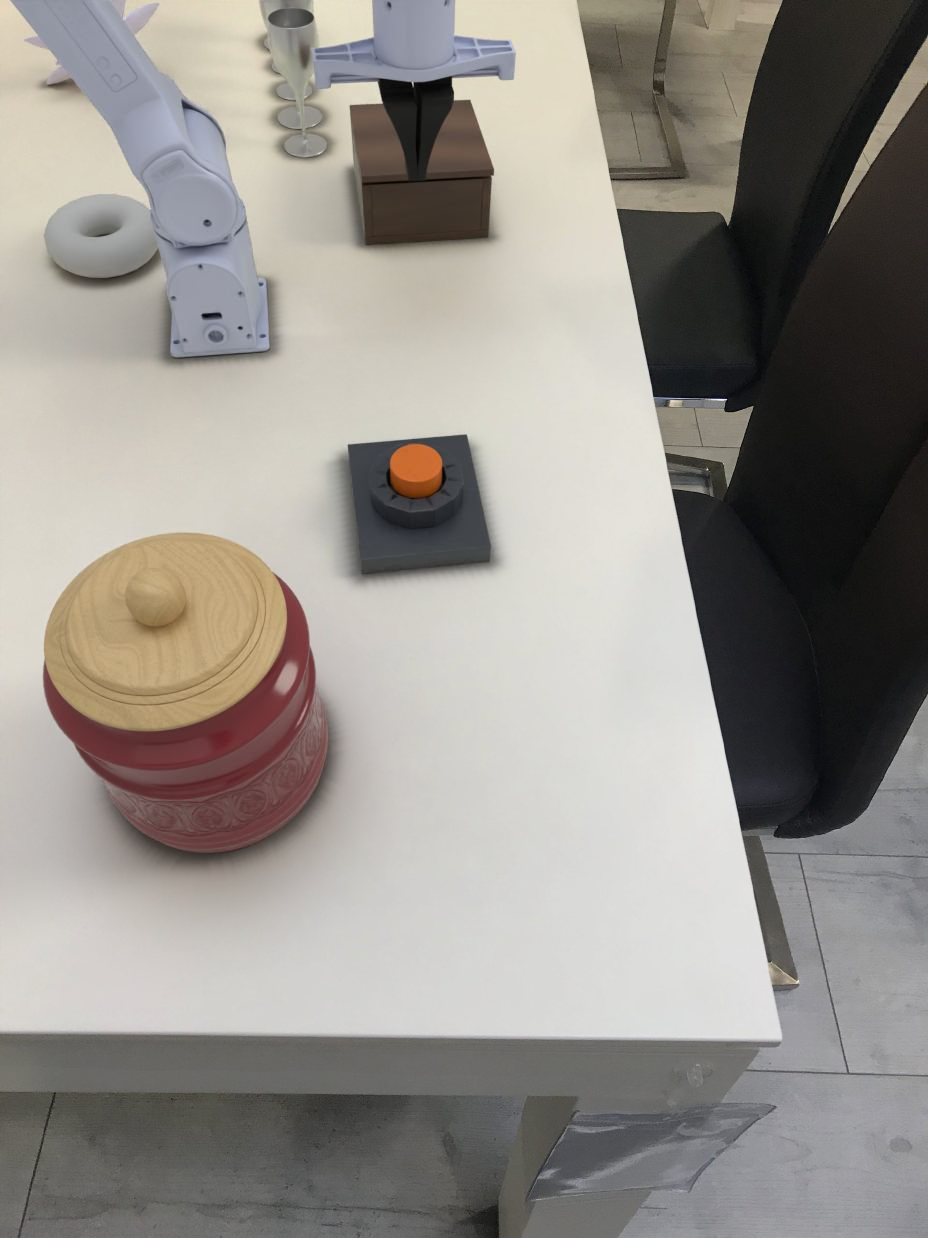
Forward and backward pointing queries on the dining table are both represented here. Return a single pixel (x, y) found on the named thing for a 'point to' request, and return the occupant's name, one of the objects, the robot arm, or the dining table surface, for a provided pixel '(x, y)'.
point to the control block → (417, 510)
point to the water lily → (132, 20)
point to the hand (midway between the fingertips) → (415, 173)
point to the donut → (105, 255)
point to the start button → (416, 471)
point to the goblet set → (294, 68)
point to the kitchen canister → (189, 689)
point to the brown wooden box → (423, 208)
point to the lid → (451, 154)
